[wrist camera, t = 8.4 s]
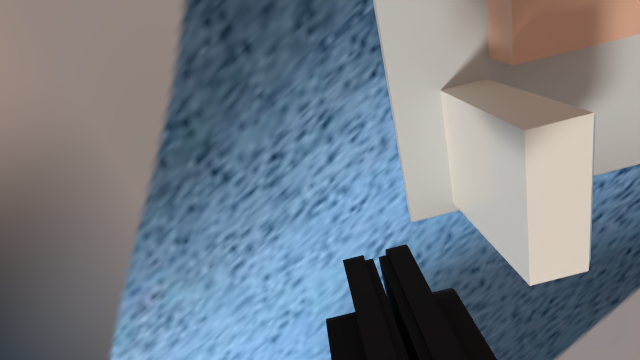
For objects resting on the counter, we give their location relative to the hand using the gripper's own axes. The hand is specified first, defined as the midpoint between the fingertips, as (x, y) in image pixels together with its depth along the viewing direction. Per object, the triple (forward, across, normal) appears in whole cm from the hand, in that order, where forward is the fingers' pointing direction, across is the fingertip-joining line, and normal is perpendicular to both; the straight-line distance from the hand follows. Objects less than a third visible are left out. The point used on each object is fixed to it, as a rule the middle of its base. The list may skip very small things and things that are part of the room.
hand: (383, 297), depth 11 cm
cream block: (+10, -7, +1) cm, 12 cm away
